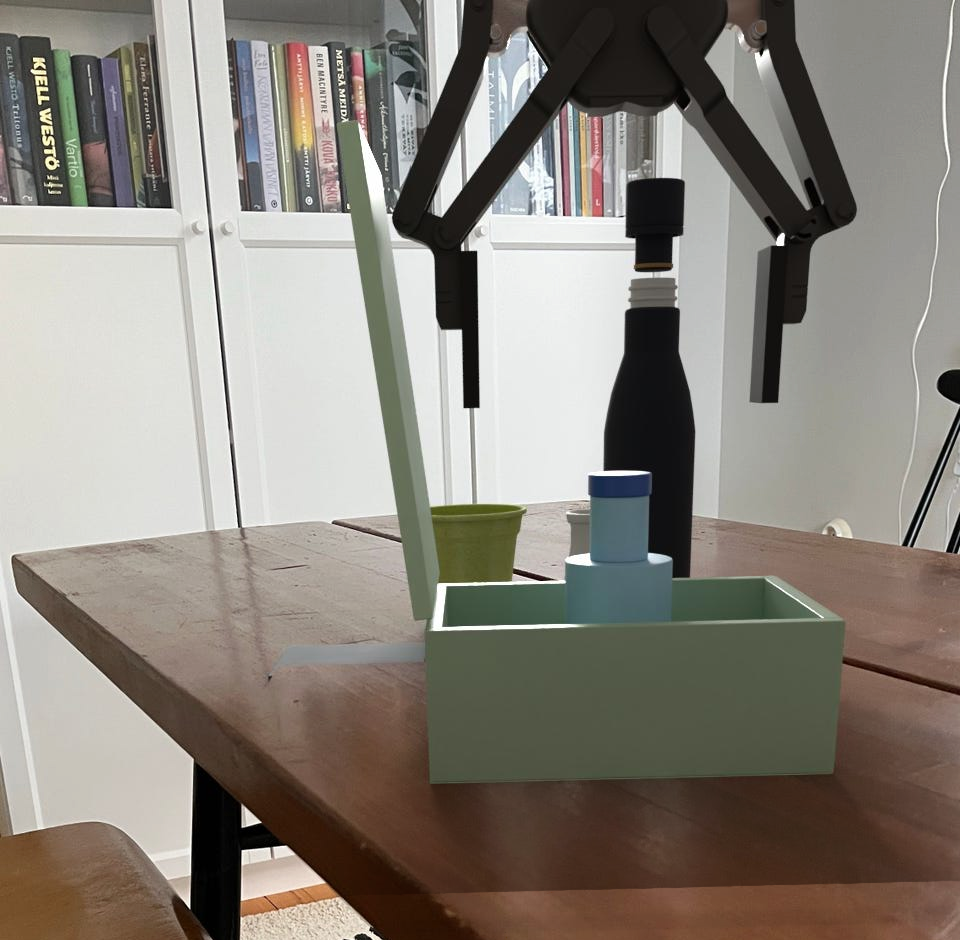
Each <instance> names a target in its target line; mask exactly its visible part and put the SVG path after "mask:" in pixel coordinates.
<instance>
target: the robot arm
mask: <svg viewBox="0 0 960 940" xmlns="http://www.w3.org/2000/svg"><path fill="white" fill-rule="evenodd" d="M795 5H796V3H795V0H463V8H462V20H461V21H462V22H461V33H460V34H461V36H460V46H459V48H458V51H457V54H456V56H455V59H454V61H453V64H452V66H451V68H450V71H449V73H448V75H447V78H446V81H445V83H444V85H443V88H442V90H441V93H440V96H439V98H438V101H437V102H436V105H435V108H434V110H433V113H432V115H431V118H430V120H429V123H428V125H427V127H426V130H425V132H424V135H423V137H422V140H421V142H420V145H419V147H418V150H417V152H416V154H415V157H414V159H413V162H412V163H411V167H410V169H409V171H408V174H407V177H406V179H405V181H404V184H403V186H402V189H401V192H400V193H399V196H398V198H397V201H396V203H395V206H394V208H393V210H392V216H391V221H392V225H393V227H394V230H395V232H396V234H397V235H398V236H399V237H400V238H402V239H404V240H409V241H411V242H414V243H417V244H419V245H421V246H424V247H426V248H427V249H428V250H430V252H431V253H432V255H433V260H434V261H433V262H434V291H435V292H434V293H435V294H434V298H435V300H434V302H435V319H436V322H437V324H438V326H439V329H440V331H461V357H462V359H461V361H462V362H461V363H462V407H463V409H480V408H481V402H480V401H481V400H480V399H481V397H480V396H481V395H480V389H481V387H480V336H479V335H480V334H479V328H480V327H479V323H480V322H479V265H478V250H462V245H463V244H464V242H465V241H466V240H467V238H468V237H469V236H470V234H471V233H472V232H473V231H474V229H475V228H476V226H477V225H478V223H480V221H481V220H482V218H483V217H484V215H485V214H486V213H487V211H488V210H489V209H490V207H491V206H492V205H493V203H494V202H495V201H496V199H497V198H498V196H499V195H500V194H501V192H502V191H503V190H504V188H505V187H506V186H507V184H508V183H509V182H510V180H511V179H512V177H513V176H514V174H515V173H516V172H517V170H518V169H519V168H520V166H521V165H522V164H523V163H524V161H525V160H526V159H527V157H528V156H529V154H530V153H531V152H532V150H533V149H534V147H535V146H536V144H537V143H538V142H539V141H540V139H541V138H542V137H543V135H544V134H545V132H546V131H547V130H548V129H549V128H550V127H551V125H552V124H553V123H554V121H555V120H556V119H557V118H558V116H559V115H560V113H561V112H562V111H563V109H564V108H565V106H566V105H568V104H569V105H570V106H571V107H573V108H574V109H575V110H576V111H578V112H580V113H583V114H585V117H586V118H599V117H600V118H603V117H608V116H609V115H613V114H616V113H619V112H622V113H623V112H624V113H627V114H630V115H634V116H637V117H657V116H658V114H660V113H661V112H663V111H666V110H668V109H669V108H671V106H673V105H674V106H675V107H676V109H677V110H678V112H679V113H680V114H681V116H682V117H683V119H684V120H685V121H686V122H687V124H689V126H690V127H692V128H693V129H694V130H695V131H696V132H697V133H698V135H699V136H700V137H701V139H702V141H703V142H704V143H705V144H706V146H707V148H708V149H709V150H710V152H711V153H712V154H713V156H714V157H715V158H716V160H717V161H718V163H719V164H720V166H721V167H722V168H723V170H724V171H725V172H726V174H727V176H728V177H729V179H730V180H731V181H732V182H733V184H734V185H735V187H736V188H737V189H738V191H739V192H740V194H741V195H742V196H743V198H744V199H745V200H746V202H747V204H748V205H749V206H750V208H751V209H752V210H753V212H754V213H755V214H756V216H757V217H758V219H759V221H761V223H762V224H763V226H764V228H765V229H766V230H767V232H768V233H769V234H770V236H771V237H772V238H773V240H774V241H775V243H776V245H775V244H774V245H773V244H771V245H769V246H767V247H764V248H762V249H761V250H757V259H756V261H757V262H756V278H755V296H754V312H753V313H754V314H753V332H752V348H751V349H752V350H751V351H752V352H751V368H750V370H751V372H750V388H749V403H754V404H779V395H780V382H781V381H780V379H781V365H782V349H783V336H784V335H783V333H784V325H798V324H801V323H802V322H803V320H804V317H805V315H806V313H807V306H808V293H809V292H808V291H809V288H808V287H809V277H810V263H811V252H812V248H813V246H814V244H815V243H816V241H817V240H818V239H819V238H821V237H823V236H824V235H827V234H829V233H832V232H835V231H836V230H839V229H842V228H845V227H846V226H849V225H850V224H851V223H852V222H853V221H854V220H855V218H856V216H857V213H858V207H857V202H856V200H855V196H854V194H853V191H852V188H851V186H850V183H849V180H848V179H847V175H846V173H845V170H844V167H843V164H842V162H841V158H840V155H839V154H838V151H837V149H836V146H835V142H834V140H833V137H832V135H831V131H830V129H829V127H828V123H827V121H826V118H825V116H824V113H823V110H822V107H821V105H820V102H819V99H818V96H817V94H816V91H815V89H814V85H813V83H812V81H811V77H810V75H809V72H808V69H807V66H806V64H805V61H804V59H803V55H802V53H801V51H800V48H799V45H798V42H797V32H796V8H795V7H796V6H795ZM724 30H730V31H731V32H733V33H735V35H736V37H737V39H738V42H739V45H740V47H741V49H742V51H744V52H745V53H747V54H751V55H752V54H753V55H755V62H756V67H757V71H758V74H759V77H760V80H761V84H762V87H763V89H764V91H765V94H766V97H767V99H768V102H769V104H770V107H771V110H772V112H773V116H774V117H775V120H776V122H777V126H778V129H779V131H780V133H781V136H782V139H783V141H784V143H785V147H786V149H787V151H788V154H789V156H790V160H791V162H792V164H793V167H794V169H795V172H796V175H797V178H798V180H799V183H800V186H801V188H802V191H803V193H804V196H805V199H806V201H807V203H808V207H809V209H806V207H805V206H804V204H803V203H802V201H801V200H800V198H799V197H798V196H797V194H796V193H795V191H794V190H793V189H792V187H791V186H790V184H789V183H788V181H787V179H786V178H785V177H784V175H783V174H782V173H781V172H780V170H779V168H778V167H777V165H776V164H775V163H774V161H773V160H772V159H771V157H770V155H768V152H767V151H766V150H765V148H764V147H763V145H762V144H761V143H760V141H759V140H758V138H757V137H756V135H755V134H754V133H753V131H752V130H751V129H750V127H749V125H748V124H747V122H746V121H745V120H744V119H743V117H742V116H741V114H740V113H739V111H738V110H737V108H736V107H735V106H734V104H733V103H732V101H731V100H730V99H729V96H728V95H727V92H726V88H725V86H724V85H723V83H722V82H721V80H720V78H719V77H718V75H717V74H716V72H715V71H714V70H713V69H712V67H711V66H710V64H709V63H708V61H707V59H706V57H707V56H708V55H709V53H710V51H711V50H712V48H713V47H714V45H715V44H716V42H717V41H718V40H719V38H720V36H721V35H722V33H723V31H724ZM520 33H526V36H527V39H528V41H529V43H530V44H531V45H532V47H533V48H534V50H535V52H536V53H537V55H538V57H539V58H540V60H541V61H542V63H543V65H544V66H545V67H546V69H547V70H546V72H545V73H544V74H543V75H542V77H541V78H540V80H539V81H538V82H537V84H536V85H535V86H534V88H533V89H532V91H531V92H530V94H529V96H528V97H527V99H526V100H525V102H524V103H523V105H522V106H521V108H520V109H519V110H518V111H517V112H516V115H515V116H514V117H513V118H512V119H511V121H510V123H509V124H508V125H507V127H506V128H505V130H504V131H503V132H502V134H501V135H500V136H499V138H498V139H497V140H496V142H495V143H494V145H493V146H492V147H491V149H490V150H489V152H488V153H487V154H486V156H485V157H484V158H483V160H482V161H481V163H480V164H479V165H478V166H477V168H476V170H475V171H474V172H473V174H472V175H471V177H470V178H469V179H468V180H467V182H466V183H465V184H464V186H463V187H462V189H461V190H460V192H459V193H458V194H457V195H456V197H455V198H454V200H453V201H452V203H451V204H450V205H449V207H448V208H447V209H446V211H445V212H444V214H443V215H442V216H439V215H437V214H434V213H431V212H430V209H431V207H432V203H433V202H434V199H435V197H436V194H437V192H438V189H439V187H440V185H441V182H442V180H443V177H444V175H445V173H446V171H447V168H448V165H449V163H450V160H451V158H452V156H453V155H454V151H455V149H456V146H457V144H458V142H459V139H460V136H461V134H462V132H463V129H464V128H465V125H466V122H467V120H468V118H469V116H470V113H471V110H472V109H473V106H474V103H475V101H476V99H477V96H478V94H479V92H480V89H481V86H482V84H483V81H484V78H485V75H486V71H487V67H488V63H489V58H491V59H495V58H500V57H502V56H503V55H504V54H505V53H506V52H507V50H508V47H509V44H510V42H511V40H512V39H513V37H514V36H516V35H517V34H520Z"/></svg>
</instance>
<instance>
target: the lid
mask: <svg viewBox="0 0 960 940" xmlns="http://www.w3.org/2000/svg"><path fill="white" fill-rule="evenodd" d="M336 129H337V137H338V142H339V150H340V155H341V163H342V168H343V175H344V182H345V186H346V187H345V188H346V194H347V201H348V206H349V212H350V219H351V226H352V232H353V238H354V245H355V246H354V247H355V251H356V252H355V253H356V258H357V265H358V270H359V271H358V272H359V277H360V278H359V279H360V285H361V291H362V296H363V302H364V309H365V315H366V322H367V327H368V328H367V329H368V335H369V341H370V348H371V354H372V360H373V367H374V372H375V373H374V374H375V379H376V385H377V393H378V399H379V406H380V411H381V418H382V424H383V431H384V437H385V442H386V451H387V457H388V463H389V469H390V475H391V482H392V483H391V484H392V488H393V489H392V490H393V495H394V501H395V507H396V513H397V514H396V515H397V521H398V527H399V532H400V539H401V546H402V552H403V558H404V559H403V560H404V564H405V572H406V577H407V584H408V591H409V597H410V604H411V610H412V617H413V620H414V621H415V622H417V621H426V620H427V619H432V618H433V613H434V606H435V600H436V593H437V587H438V580H439V574H440V571H439V564H438V558H437V551H436V544H435V537H434V530H433V524H432V517H431V510H430V507H431V504H430V503H431V502H430V497H429V489H428V484H427V476H426V469H425V464H424V463H425V462H424V457H423V456H424V455H423V451H422V449H423V448H422V442H421V436H420V435H421V434H420V428H419V422H418V416H417V408H416V402H415V395H414V389H413V381H412V374H411V368H410V361H409V360H410V359H409V354H408V347H407V341H406V334H405V328H404V327H405V326H404V320H403V314H402V313H403V312H402V308H401V307H402V306H401V300H400V293H399V286H398V280H397V273H396V272H397V271H396V266H395V259H394V254H393V253H394V252H393V247H392V238H391V233H390V232H391V231H390V225H389V218H388V211H387V204H386V199H385V191H384V190H385V189H384V183H383V177H382V174H381V170H380V169H379V167H378V164H377V162H376V160H375V158H374V155H373V152H372V150H371V148H370V146H369V143H368V141H367V138H366V137H365V134H364V132H363V129H362V127H361V124H360V122H359V120H357V119H354V120H353V119H352V120H347V121H341V122H337V123H336Z"/></svg>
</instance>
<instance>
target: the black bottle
mask: <svg viewBox="0 0 960 940" xmlns="http://www.w3.org/2000/svg"><path fill="white" fill-rule="evenodd" d="M685 194H686V182H685V180H683V179H681V178H675V177H649V178H639V179H634V180H630V181H628V182H626V185H625V221H624V222H625V225H624V226H625V227H624V229H625V230H624V231H625V232H624V237H625V238H626V239H633V240H635V242H634V264H633V270H634V272H636V273H664V272H671V271H672V269H673V268H674V263H673V253H674V252H673V249H674V247H673V244H674V242H673V241H674V238H678V237H682V236H684V225H685V222H684V221H685ZM676 280H677V279H676V277H640V278H639V277H638V278H633V279H630V285H629V287H628V288H627V290H628V292H630V297H628V298H627V301H628V303H629V308H627V309H626V310H625V311H624V325H623V326H624V328H623V355H622V358H621V360H620V364H619V367H618V370H617V372H616V376H615V380H614V382H613V386H612V388H611V392H610V397H609V401H608V406H607V411H606V417H605V422H604V428H603V462H602V465H603V466H602V467H603V468H602V469H603V471H602V472H604V471H645V472H650V473H651V474H652V488H651V494H650V495H649V526H648V553H653V554H661V555H665V556H669V557H671V558H672V560H673V568H672V578H691V566H692V565H691V562H692V536H693V513H694V512H693V511H694V510H693V509H694V487H695V486H694V485H695V483H694V482H695V456H696V423H695V414H694V408H693V402H692V395H691V390H690V387H689V383H688V379H687V375H686V372H685V368H684V365H683V362H682V358H681V355H680V331H681V330H680V329H681V328H680V325H681V321H680V320H681V309H680V308H679V307H677V306H676V304H675V303H676V301H678V296H677V295H676V290H677V289H679V288H678V287H679V286H678V285H677V284H676Z"/></svg>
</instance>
